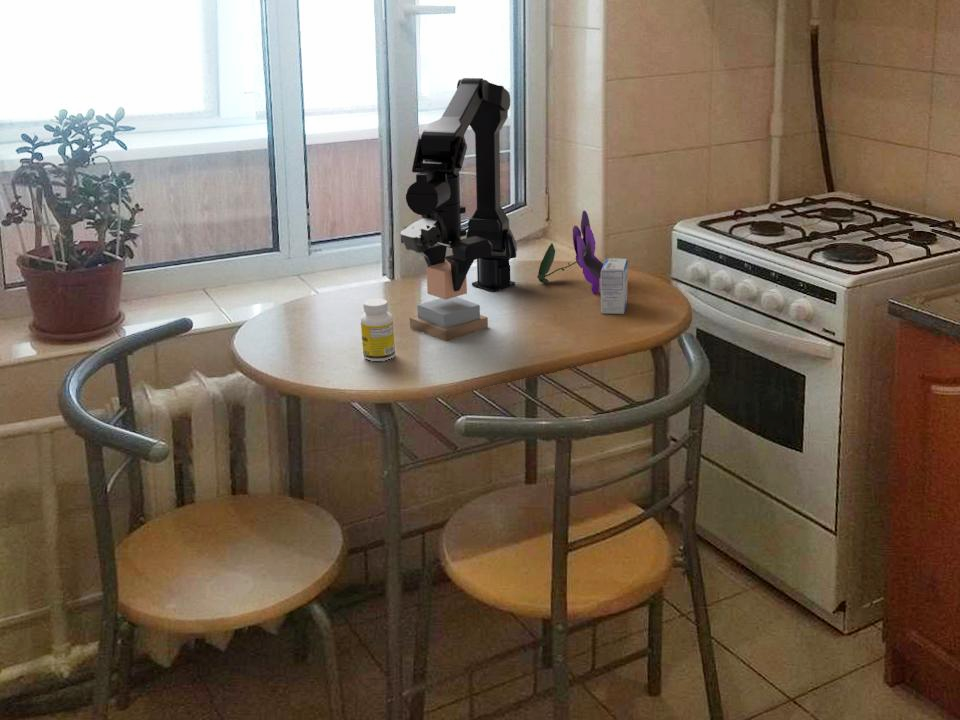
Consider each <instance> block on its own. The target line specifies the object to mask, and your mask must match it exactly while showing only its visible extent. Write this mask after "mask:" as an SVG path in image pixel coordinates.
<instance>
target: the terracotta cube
mask: <svg viewBox="0 0 960 720" xmlns="http://www.w3.org/2000/svg"><path fill="white" fill-rule="evenodd" d="M425 270H426V287H427V288H426V289H427V292H426V293H427V295H430V296H433V297H436V298H438V299H440V298H442V299H445V300H446V299H450V298H453V297H459V296H463V295H467V294H468V288H467V287H468V285H467V284H468V283H467V282H468V281H467V276H466V277H465V279H464V282H463V284H462V286H461V288H460V290H459V291H454V288H453V283H452V273H451V264H450V263H449V262H448V261H447V260H446V261H445V262H443V263H439V264H436V265H432V266H428V265H427V266H426V269H425Z"/></svg>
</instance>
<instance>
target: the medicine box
mask: <svg viewBox="0 0 960 720" xmlns="http://www.w3.org/2000/svg"><path fill="white" fill-rule="evenodd" d="M603 264H604V265H603V267H602V270H601V279H600V314H604V315H605V314H607V315H624V314H625V312H626V309H627V308H626V307H627V304H628V271H629V270H628V269H629V260H628V258H619V257H617V258H615V257H614V258H612V257H611V258H605V259H604V261H603Z"/></svg>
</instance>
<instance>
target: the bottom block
mask: <svg viewBox="0 0 960 720" xmlns="http://www.w3.org/2000/svg"><path fill="white" fill-rule="evenodd" d="M488 319H489V317H487V316H485V315H483V314H482V315H481V314H480V319H476V320H472V321H469V322H465V323H462V324H458V325H455V326H451V327H447V328H442V327H440V326H437V325H435V324H433V323H430V322H428V321H425V320H423V319H420V318H418V315H414V316H412V317H409V329H411V328H412V330H414V329H415V331H417V330H418V331H417V332H420V331H421V332H420V333H422V332H424V333H423V334H425V333H426V334H425V335H428V334H429V335H428V336H430V335H431V337H432V338H433V337H434V338H437V339H439V340H441V341H445V342H447V341H451V340H453V339H457V338H459V337H463V336H466V335H469V334H472V333H475V332H479V331H481V330H485V329H489V325H488V323H489V320H488Z"/></svg>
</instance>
